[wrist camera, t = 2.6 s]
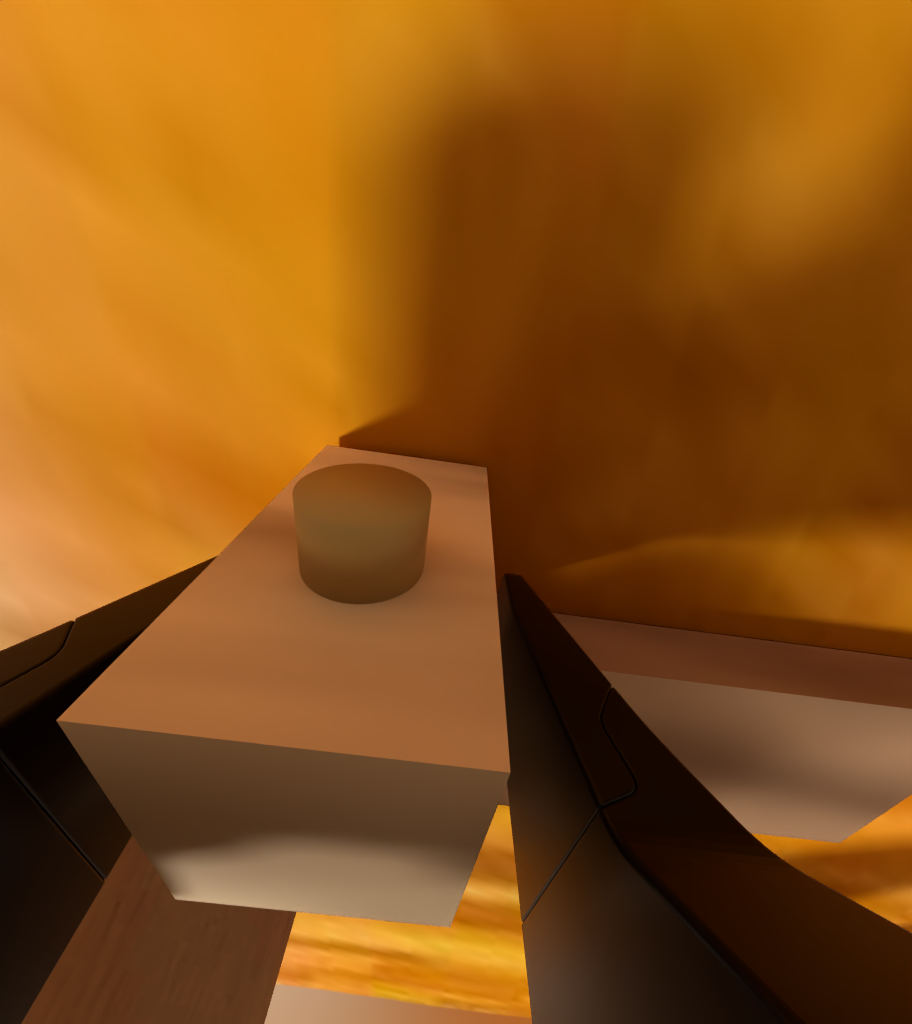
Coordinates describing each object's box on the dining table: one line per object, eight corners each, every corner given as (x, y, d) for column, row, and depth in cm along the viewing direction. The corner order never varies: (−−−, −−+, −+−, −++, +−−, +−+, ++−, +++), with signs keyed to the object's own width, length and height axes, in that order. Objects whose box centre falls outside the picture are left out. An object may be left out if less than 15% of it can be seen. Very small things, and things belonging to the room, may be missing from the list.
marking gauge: (435, 740, 16) (411, 1026, 9) (338, 729, 15) (249, 1010, 9) (495, 420, 9) (543, 689, 3) (325, 396, 9) (-11, 621, 3)
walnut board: (801, 785, 16) (839, 842, 15) (267, 722, 16) (241, 775, 14) (942, 663, 12) (1018, 722, 11) (238, 572, 12) (197, 620, 10)
